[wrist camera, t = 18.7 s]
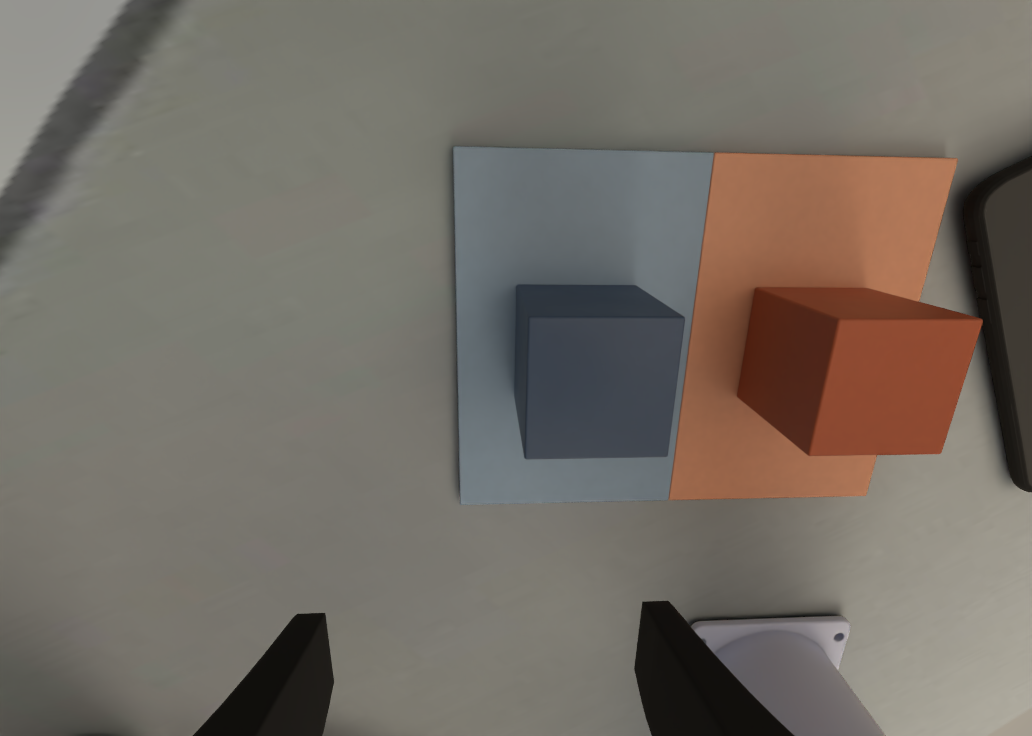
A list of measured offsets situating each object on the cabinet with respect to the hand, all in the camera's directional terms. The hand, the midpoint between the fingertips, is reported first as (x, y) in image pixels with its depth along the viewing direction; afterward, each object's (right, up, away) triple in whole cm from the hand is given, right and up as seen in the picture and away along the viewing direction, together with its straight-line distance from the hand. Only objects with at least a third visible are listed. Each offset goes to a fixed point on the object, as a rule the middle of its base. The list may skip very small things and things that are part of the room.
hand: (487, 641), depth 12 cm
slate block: (+3, +7, +8) cm, 11 cm away
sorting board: (+7, +7, +9) cm, 14 cm away
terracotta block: (+12, +7, +9) cm, 16 cm away
